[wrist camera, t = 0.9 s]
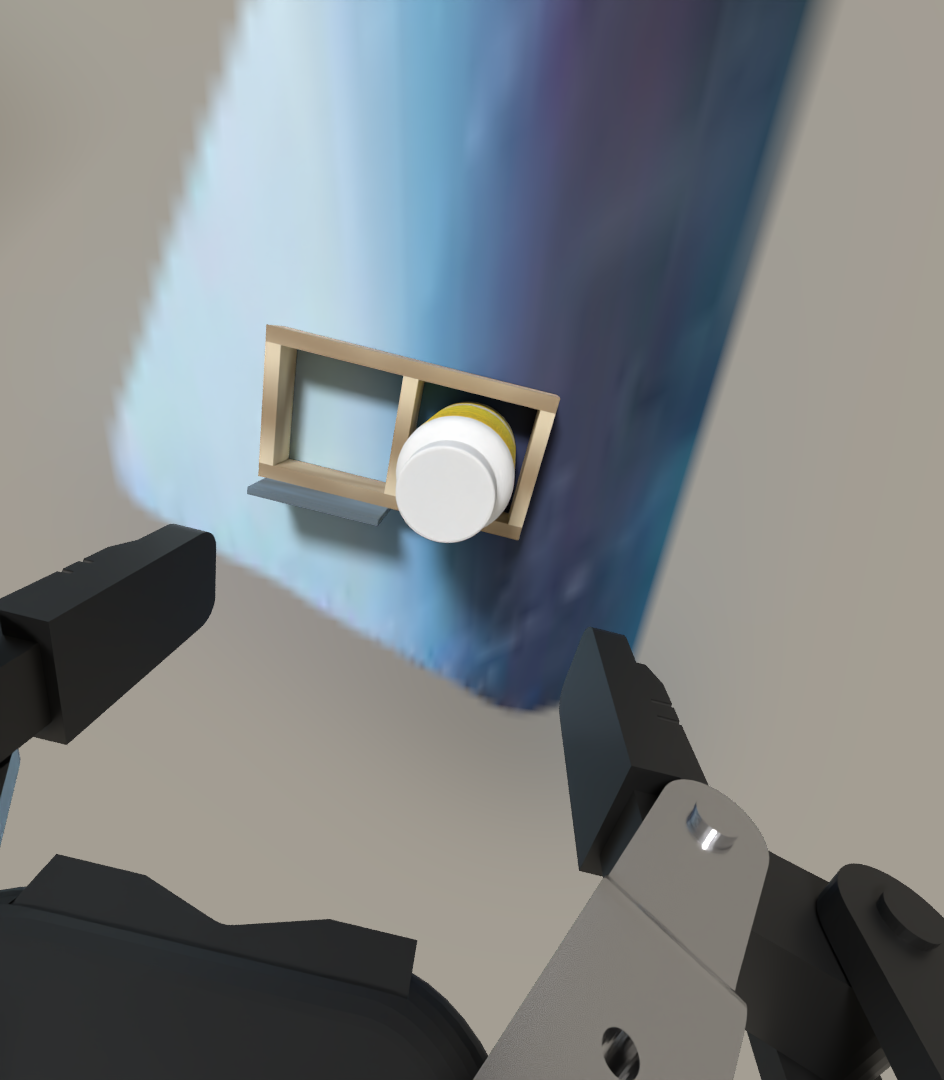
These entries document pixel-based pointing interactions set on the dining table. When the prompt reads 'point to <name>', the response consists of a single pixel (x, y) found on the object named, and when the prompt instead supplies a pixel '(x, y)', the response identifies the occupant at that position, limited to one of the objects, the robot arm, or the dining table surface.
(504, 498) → the supplement bottle
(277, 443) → the rack
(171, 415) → the dining table surface
